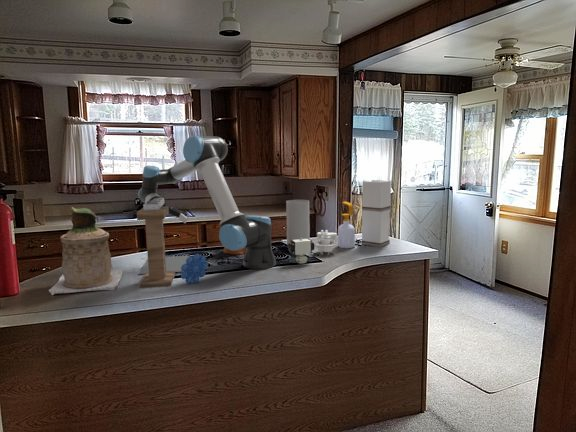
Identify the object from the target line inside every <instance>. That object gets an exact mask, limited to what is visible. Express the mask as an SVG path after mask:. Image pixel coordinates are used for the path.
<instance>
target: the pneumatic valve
mask: <svg viewBox="0 0 576 432" xmlns="http://www.w3.org/2000/svg"><path fill="white" fill-rule="evenodd" d="M287 248H288V252H289V253H290V254H292V255H293V256H295V263H297V264H299V265H300V264H307V262H308V257H307V256H306V255H308V254H309V255H310V254H313V251H314V250H315V248H316V247H315V242H314V241H313V240H311V238H310V239H302V238H300V239H297V240H291V242H290V243H289V244H288V246H287Z"/></svg>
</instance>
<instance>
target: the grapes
mask: <svg viewBox="0 0 576 432" xmlns="http://www.w3.org/2000/svg"><path fill="white" fill-rule="evenodd" d="M206 261H207V257H206V256H205V255H202V256H201V255H200V254H199V253H195V254H194V255H193V256H190V257H188V258H187V259H186V263H187V264H183V265H182V267H181V270H182V271H184V272H181V275H180V277H181V279H182V280H185V283H186V284H191V283H193V284H195V283H198V282H199V281H200V279H201V278H204V277H205V275H206V269H208V267H209V263H208V261H207V262H206Z"/></svg>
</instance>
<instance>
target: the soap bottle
mask: <svg viewBox="0 0 576 432" xmlns="http://www.w3.org/2000/svg"><path fill="white" fill-rule="evenodd" d="M342 204H344V205H345V206H348V213H342V214H341V216H343V217H344V219H343V224H340V225H339V226H338V228H337V246H338V247H339V248H341V249H351V248H352V249H353V248H355V246H356V241H355V239H356V229H355V227H354V226H353V225H352V224H350V218H349V217H350V216H352V215H353V213H354V206H353V204H352V203H351V202H348V201H347V200H346V201H342Z"/></svg>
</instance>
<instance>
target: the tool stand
mask: <svg viewBox="0 0 576 432" xmlns="http://www.w3.org/2000/svg"><path fill="white" fill-rule="evenodd" d="M169 207H170V206H169V205H167V206H161V209H160V210H156V211H144V207H142V208H141V209H139V210H138V211H136V219H137V221H145V222H144V224H145V234H146V235H145V237H146V251H147V260H148V267H149V272H146V274H145V275H143V277H142V278H141V281H140V282H139V288H153V287H154V288H155V287H169V286H170V287H171V286H172V284H173V281H174V278H175V276H176V273H175V271H166V259H165V257H166V247H165V246H166V245H165V232H164V231H165V230H164V220H165V219H166V218H167V216H168V215H170V214H169ZM174 275H175V276H174Z"/></svg>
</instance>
